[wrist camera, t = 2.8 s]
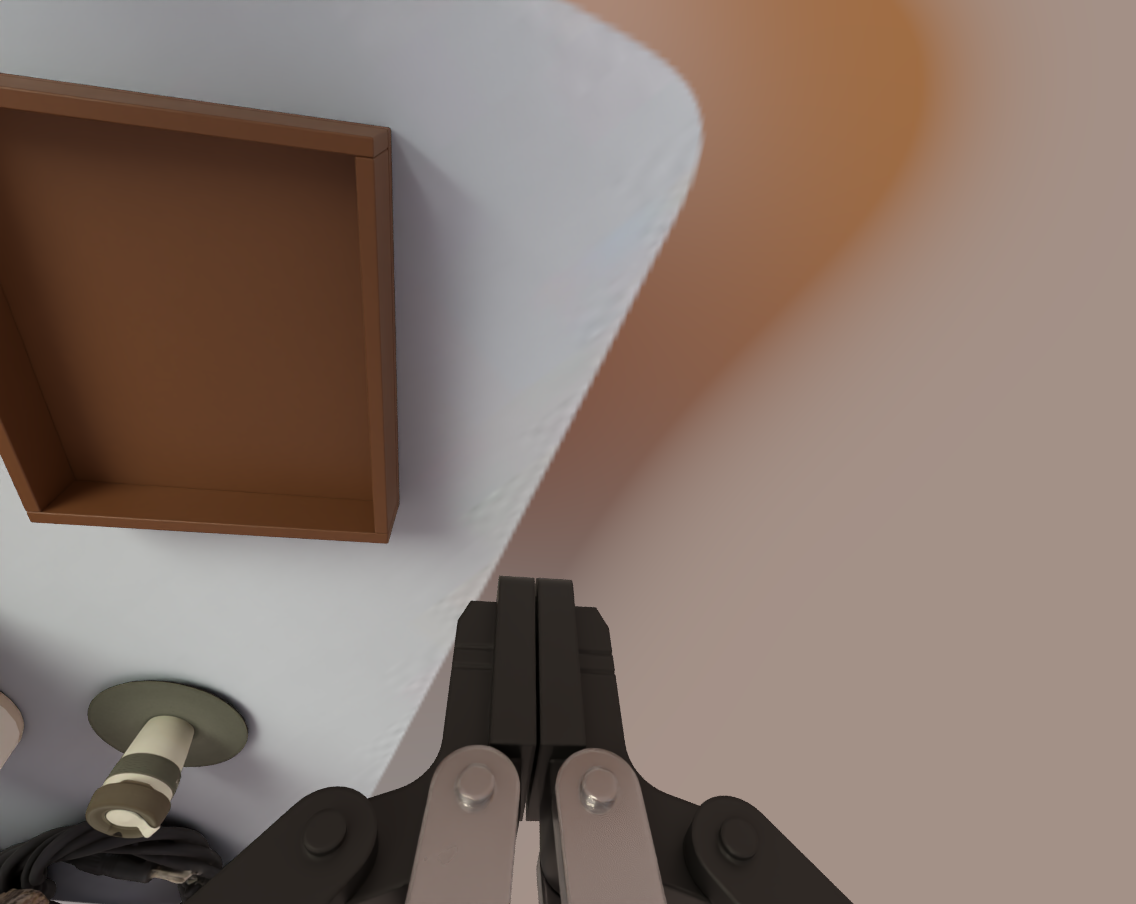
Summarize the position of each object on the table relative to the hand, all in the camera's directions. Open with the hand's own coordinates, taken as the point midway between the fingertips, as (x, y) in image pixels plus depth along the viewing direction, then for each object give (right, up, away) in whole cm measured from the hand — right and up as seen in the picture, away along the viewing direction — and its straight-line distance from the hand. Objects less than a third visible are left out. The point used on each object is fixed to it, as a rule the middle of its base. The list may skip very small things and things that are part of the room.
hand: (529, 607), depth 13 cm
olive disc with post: (-20, -11, +20) cm, 31 cm away
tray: (-11, +7, +8) cm, 16 cm away
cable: (-29, -25, +28) cm, 48 cm away
